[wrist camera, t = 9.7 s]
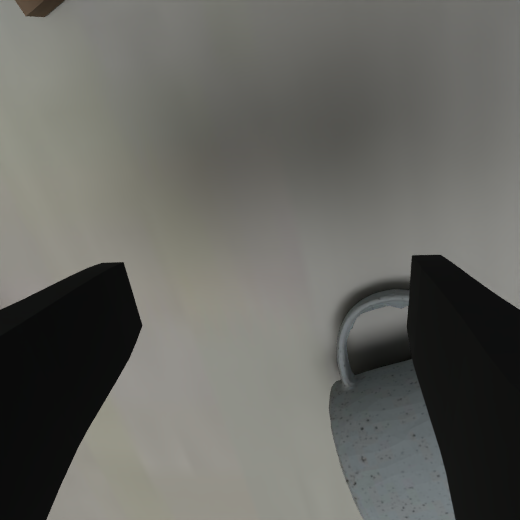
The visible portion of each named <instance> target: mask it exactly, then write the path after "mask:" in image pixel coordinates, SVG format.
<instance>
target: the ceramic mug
mask: <svg viewBox="0 0 520 520" xmlns="http://www.w3.org/2000/svg"><path fill="white" fill-rule="evenodd" d="M409 291H410V290H401V289H391V290H386V291H382V292H378V293H374V294H372V295H370V296H368V297H366V298H364V299H362V300H361V301H359V302H358V303H357V304H356V305H355V306H354V307H353V308H352V309H351V310H350V311H349V312H348V313H347V315H346V317H345V319H344V321H343V323H342V325H341V328H340V330H339V334H338V338H337V349H336V351H337V363H338V368H339V372H340V376H341V380H338V381H336V382H335V383H334V384H333V386H332V388H331V392H330V401H329V413H330V420H331V429H332V434H333V439H334V443H335V446H336V451H337V454H338V457H339V462H340V465H341V468H342V471H343V474H344V477H345V479H346V482H347V484H348V486H349V489H350V491H351V494H352V497H353V500H354V502H355V504H356V506H357V508H358V510H359V512H360V514H361V516H362V518H363V519H364V520H455V515H454V510H453V505H452V501H451V496H450V491H449V486H448V481H447V476H446V471H445V468H444V464H443V460H442V456H441V453H440V449H439V446H438V443H437V439H436V436H435V433H434V430H433V427H432V424H431V420H430V417H429V414H428V411H427V408H426V404H425V401H424V398H423V395H422V392H421V388H420V385H419V382H418V378H417V375H416V372H415V369H414V365H413V360H412V359H410V360H407V361H403V362H399V363H395V364H391V365H387V366H383V367H380V368H377V369H373V370H370V371H367V372H363V373H360V374H357V375H354V374H353V372H352V371H351V367H350V364H349V359H348V353H347V338H348V335H349V332H350V330H351V329H352V328H353V324H354V322H355V320H356V318H357V317H358V316H359V315H361V314H362V313H364V312H367V311H370V310H374V309H378V308H381V307H385V306H393V307H397V308H403V307H405V306H408V305H409Z"/></svg>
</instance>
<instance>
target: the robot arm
mask: <svg viewBox="0 0 520 520" xmlns="http://www.w3.org/2000/svg"><path fill="white" fill-rule="evenodd" d="M141 328H142V323H141V319H140V316H139V313H138V309H137V306H136V303H135V299H134V296H133V292H132V289H131V286H130V282H129V279H128V276H127V272H126V269H125V266H124V262H117V263H101V264H98V265H94V266H92V267H89V268H87V269H85V270H82V271H80V272H78V273H76V274H74V275H72V276H69V277H67V278H65V279H63V280H61V281H59V282H57V283H55V284H53V285H51V286H49V287H47V288H45V289H43V290H41V291H39V292H37V293H35V294H33V295H31V296H29V297H27V298H25V299H23V300H21V301H19V302H16V303H14V304H12V305H10V306H8V307H6V308H3V309H1V310H0V520H46V519H47V517H48V514H49V512H50V510H51V507H52V505H53V502H54V500H55V498H56V495H57V493H58V490H59V488H60V486H61V484H62V481H63V479H64V477H65V475H66V473H67V470H68V468H69V466H70V464H71V462H72V460H73V457H74V455H75V453H76V451H77V449H78V447H79V445H80V443H81V441H82V439H83V437H84V436H85V434H86V432H87V430H88V428H89V427H90V425H91V423H92V422H93V420H94V418H95V416H96V415H97V413H98V411H99V410H100V408H101V406H102V405H103V403H104V401H105V400H106V398H107V396H108V394H109V393H110V391H111V389H112V388H113V386H114V384H115V383H116V381H117V379H118V377H119V376H120V374H121V372H122V370H123V369H124V367H125V365H126V363H127V362H128V360H129V358H130V356H131V353H132V351H133V349H134V346H135V344H136V341H137V339H138V336H139V333H140V330H141ZM407 331H408V337H409V343H410V349H411V355H412V360H413V365H414V369H415V372H416V375H417V378H418V382H419V385H420V388H421V392H422V395H423V398H424V401H425V404H426V408H427V411H428V414H429V417H430V420H431V424H432V427H433V430H434V433H435V436H436V439H437V443H438V446H439V449H440V453H441V456H442V460H443V464H444V468H445V471H446V476H447V481H448V486H449V491H450V496H451V501H452V505H453V510H454V515H455V520H520V310H519V309H518V308H516V307H515V306H513V305H511V304H510V303H508V302H507V301H505V300H504V299H502V298H501V297H499V296H498V295H496V294H495V293H493V292H492V291H491V290H489V289H488V288H486V287H485V286H483V285H482V284H481V283H479V282H478V281H476V280H475V279H474V278H472V277H471V276H470V275H468V274H467V273H465V272H464V271H463V270H461V269H460V268H459V267H457V266H456V265H455V264H453V263H452V262H450V261H449V260H448V259H446V258H445V257H443V256H441V255H412V263H411V277H410V291H409V305H408V320H407Z"/></svg>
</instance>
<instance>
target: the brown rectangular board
mask: <svg viewBox="0 0 520 520" xmlns="http://www.w3.org/2000/svg"><path fill="white" fill-rule="evenodd" d="M15 1H16V2H17V4H18V5H19V7H20V8H21V10H22V11H23V13H24V14H25V16H34V17H45V16H46V15H48V14H49V13H50V12H51V11H52V10H54V9H55V8H56V7H57V6H58V5H60V4H61V3H62V2H63V1H64V0H15Z"/></svg>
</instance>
